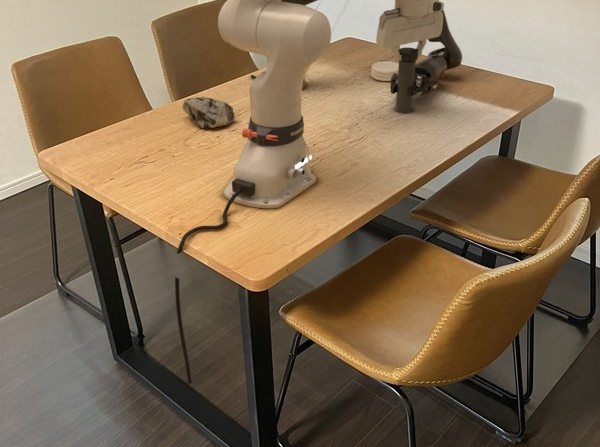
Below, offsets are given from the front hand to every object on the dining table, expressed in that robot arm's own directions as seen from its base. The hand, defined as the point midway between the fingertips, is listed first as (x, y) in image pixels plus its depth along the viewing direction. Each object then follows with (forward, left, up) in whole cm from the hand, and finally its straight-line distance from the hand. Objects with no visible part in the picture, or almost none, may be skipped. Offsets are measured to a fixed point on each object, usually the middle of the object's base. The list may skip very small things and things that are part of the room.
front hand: (407, 58), depth 168 cm
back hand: (-3, 0, -9) cm, 9 cm away
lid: (0, 0, +2) cm, 2 cm away
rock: (-28, +47, -15) cm, 57 cm away
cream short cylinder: (+25, +13, -15) cm, 32 cm away
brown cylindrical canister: (0, 0, -15) cm, 15 cm away
